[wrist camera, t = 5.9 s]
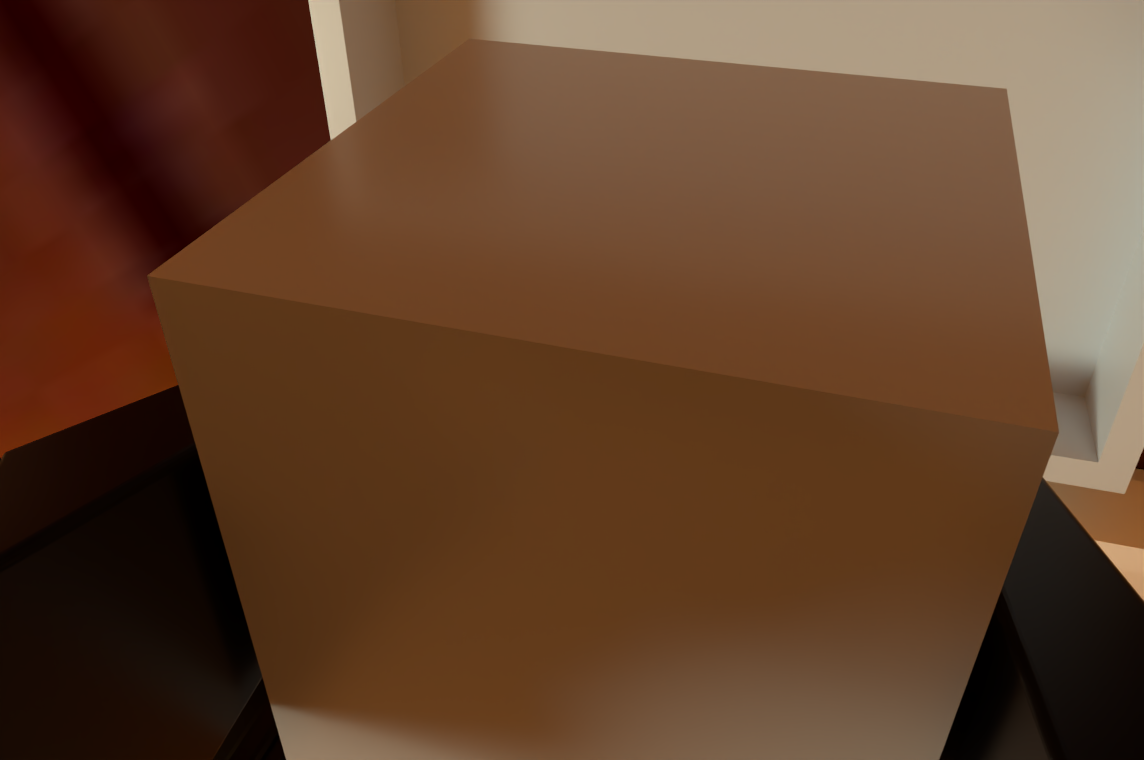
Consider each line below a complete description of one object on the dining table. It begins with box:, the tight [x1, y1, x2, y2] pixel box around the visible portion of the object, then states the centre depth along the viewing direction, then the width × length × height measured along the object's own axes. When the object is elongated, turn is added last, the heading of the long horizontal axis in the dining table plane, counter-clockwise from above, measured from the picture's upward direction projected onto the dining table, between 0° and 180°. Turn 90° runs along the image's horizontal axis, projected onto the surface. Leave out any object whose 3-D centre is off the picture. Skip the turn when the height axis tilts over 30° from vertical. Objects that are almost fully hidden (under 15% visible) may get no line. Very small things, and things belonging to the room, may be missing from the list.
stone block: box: [147, 39, 1059, 760], centre depth 9 cm, size 5×5×5 cm
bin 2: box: [1046, 468, 1144, 600], centre depth 24 cm, size 15×15×2 cm
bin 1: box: [308, 0, 1144, 494], centre depth 16 cm, size 15×15×2 cm
